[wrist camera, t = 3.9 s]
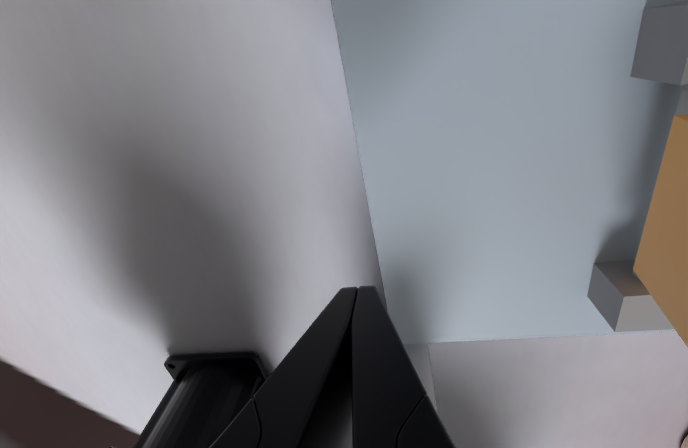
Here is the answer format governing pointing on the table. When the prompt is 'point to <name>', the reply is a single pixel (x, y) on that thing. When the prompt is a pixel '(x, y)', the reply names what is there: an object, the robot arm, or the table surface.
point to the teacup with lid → (685, 443)
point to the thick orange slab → (668, 232)
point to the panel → (513, 158)
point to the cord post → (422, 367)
